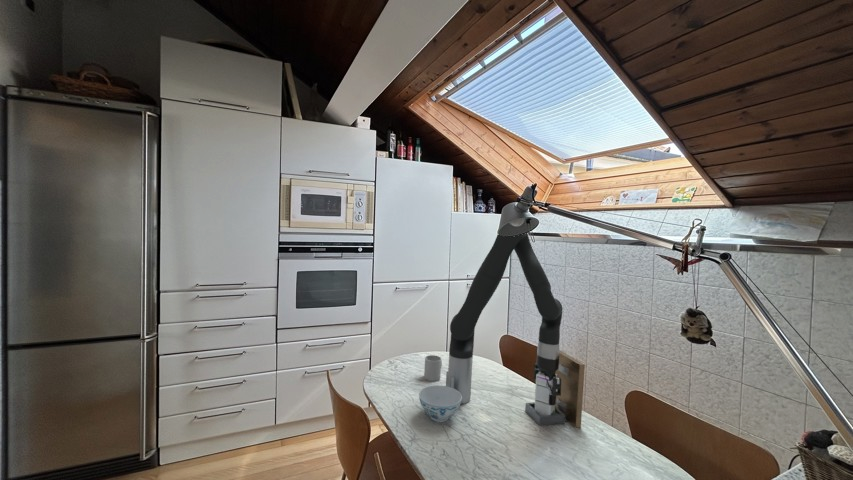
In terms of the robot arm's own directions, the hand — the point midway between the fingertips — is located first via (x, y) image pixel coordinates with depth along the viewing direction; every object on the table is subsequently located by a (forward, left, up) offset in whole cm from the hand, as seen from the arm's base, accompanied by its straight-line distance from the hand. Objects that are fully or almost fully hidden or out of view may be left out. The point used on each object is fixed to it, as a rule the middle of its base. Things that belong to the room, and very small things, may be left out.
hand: (545, 399), depth 122 cm
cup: (-32, +37, -7) cm, 49 cm away
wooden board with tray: (+2, 0, -7) cm, 7 cm away
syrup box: (0, 0, -5) cm, 5 cm away
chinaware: (-38, +5, -7) cm, 39 cm away
